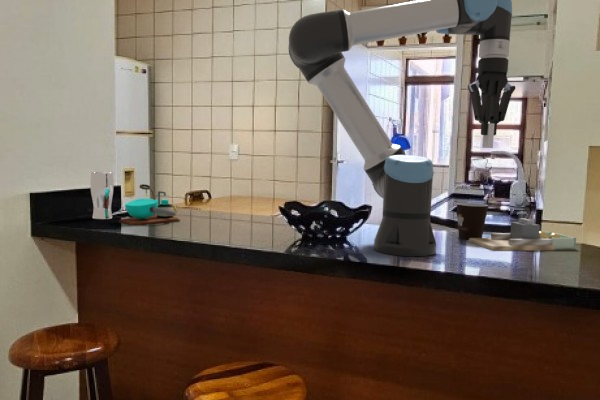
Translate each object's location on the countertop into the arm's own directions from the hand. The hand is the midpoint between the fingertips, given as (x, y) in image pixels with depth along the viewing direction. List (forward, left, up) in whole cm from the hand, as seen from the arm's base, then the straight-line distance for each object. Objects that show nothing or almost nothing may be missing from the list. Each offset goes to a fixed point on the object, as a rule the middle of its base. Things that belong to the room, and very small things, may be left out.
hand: (487, 147), depth 142 cm
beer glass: (-107, +48, -27) cm, 120 cm away
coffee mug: (+2, +10, -27) cm, 28 cm away
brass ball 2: (+19, -4, -24) cm, 31 cm away
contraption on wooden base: (-91, +39, -27) cm, 102 cm away
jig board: (+7, -3, -26) cm, 27 cm away
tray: (+19, -3, -26) cm, 33 cm away
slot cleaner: (+11, -3, -25) cm, 28 cm away
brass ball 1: (+17, -1, -24) cm, 30 cm away
